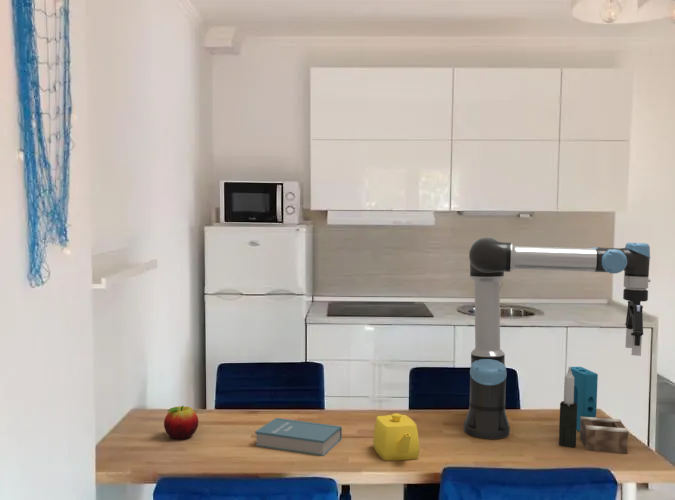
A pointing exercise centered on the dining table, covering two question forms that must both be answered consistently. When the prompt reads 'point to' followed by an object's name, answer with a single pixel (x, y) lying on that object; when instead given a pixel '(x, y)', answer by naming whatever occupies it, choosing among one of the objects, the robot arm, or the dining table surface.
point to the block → (585, 393)
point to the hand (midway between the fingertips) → (632, 351)
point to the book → (299, 436)
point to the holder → (603, 434)
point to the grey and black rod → (568, 414)
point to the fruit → (181, 422)
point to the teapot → (396, 437)
